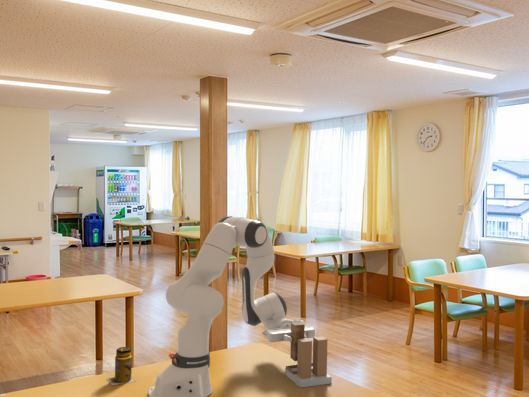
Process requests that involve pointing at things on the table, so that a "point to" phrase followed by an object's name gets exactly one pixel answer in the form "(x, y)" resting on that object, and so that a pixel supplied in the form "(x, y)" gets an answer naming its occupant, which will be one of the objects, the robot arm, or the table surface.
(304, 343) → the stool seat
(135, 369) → the table surface
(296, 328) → the stool leg
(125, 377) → the condiment
